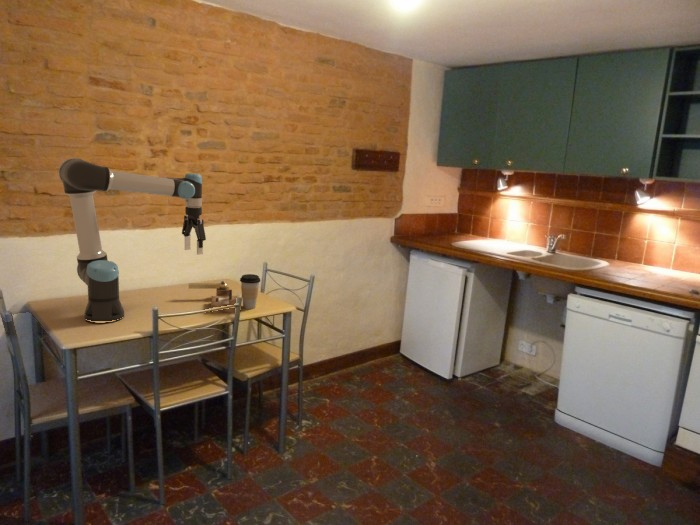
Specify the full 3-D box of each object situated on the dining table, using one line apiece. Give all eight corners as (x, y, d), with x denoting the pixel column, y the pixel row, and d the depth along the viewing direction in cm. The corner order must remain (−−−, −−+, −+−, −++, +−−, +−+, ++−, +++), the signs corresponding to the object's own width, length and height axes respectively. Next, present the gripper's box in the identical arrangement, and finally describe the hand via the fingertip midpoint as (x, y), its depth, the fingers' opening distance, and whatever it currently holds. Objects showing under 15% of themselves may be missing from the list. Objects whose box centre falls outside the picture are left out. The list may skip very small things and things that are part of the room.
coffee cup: (243, 311, 234) (244, 279, 231) (236, 305, 242) (236, 274, 238) (262, 308, 239) (263, 278, 236) (254, 302, 247) (255, 273, 244)
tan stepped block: (211, 313, 229) (211, 296, 227) (211, 303, 242) (211, 287, 240) (239, 312, 232) (239, 295, 230) (237, 302, 245) (237, 286, 243)
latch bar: (227, 286, 251) (227, 280, 251) (227, 288, 248) (227, 282, 247) (188, 286, 246) (188, 280, 246) (188, 289, 243) (188, 283, 242)
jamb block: (216, 300, 246) (216, 290, 245) (216, 296, 252) (216, 286, 251) (229, 300, 248) (229, 290, 247) (228, 296, 254) (229, 286, 253)
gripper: (174, 203, 247) (174, 248, 252) (199, 210, 231) (199, 257, 236) (188, 203, 252) (188, 246, 257) (213, 209, 237) (213, 255, 242)
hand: (193, 251), depth 247 cm, fingers open, 11 cm apart
